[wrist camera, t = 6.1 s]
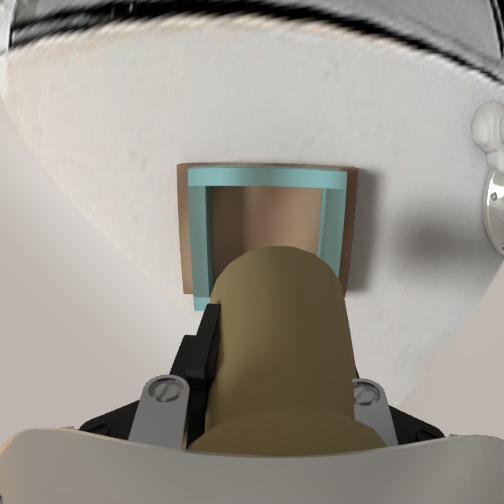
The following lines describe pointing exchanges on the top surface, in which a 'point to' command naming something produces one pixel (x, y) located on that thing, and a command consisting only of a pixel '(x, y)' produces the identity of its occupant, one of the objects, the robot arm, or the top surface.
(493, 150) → the rubber duck
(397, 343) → the top surface
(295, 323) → the cork
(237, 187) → the board
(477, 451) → the robot arm
